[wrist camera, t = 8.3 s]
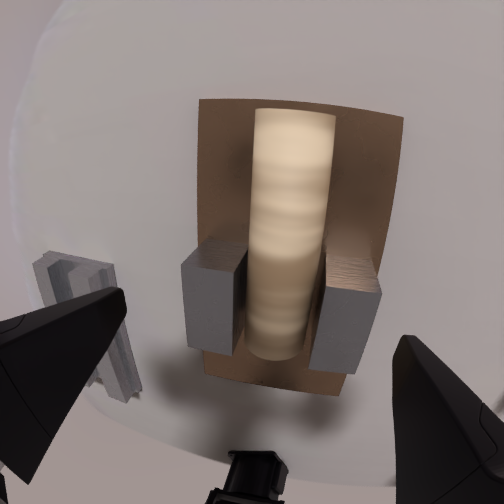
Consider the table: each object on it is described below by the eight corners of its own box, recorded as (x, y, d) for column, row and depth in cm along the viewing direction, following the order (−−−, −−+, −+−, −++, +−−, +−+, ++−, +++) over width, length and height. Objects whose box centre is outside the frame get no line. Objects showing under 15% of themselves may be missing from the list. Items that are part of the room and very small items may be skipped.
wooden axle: (307, 327, 21) (299, 365, 17) (252, 317, 22) (236, 353, 18) (335, 118, 15) (336, 114, 11) (264, 112, 16) (245, 107, 12)
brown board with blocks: (338, 387, 24) (337, 432, 19) (208, 366, 26) (188, 405, 22) (399, 117, 15) (426, 115, 10) (205, 100, 17) (168, 94, 13)
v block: (142, 387, 30) (130, 405, 28) (84, 364, 32) (71, 378, 29) (112, 264, 24) (92, 280, 21) (49, 250, 26) (29, 262, 23)
